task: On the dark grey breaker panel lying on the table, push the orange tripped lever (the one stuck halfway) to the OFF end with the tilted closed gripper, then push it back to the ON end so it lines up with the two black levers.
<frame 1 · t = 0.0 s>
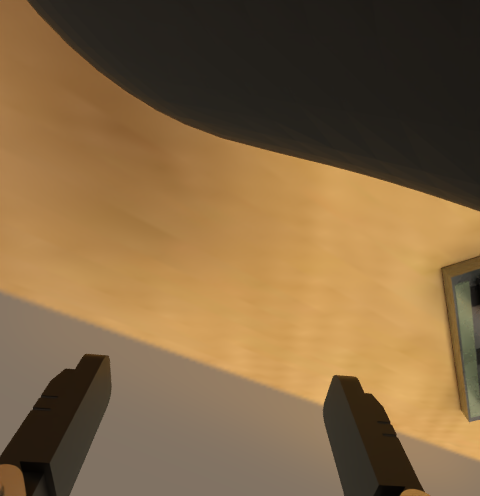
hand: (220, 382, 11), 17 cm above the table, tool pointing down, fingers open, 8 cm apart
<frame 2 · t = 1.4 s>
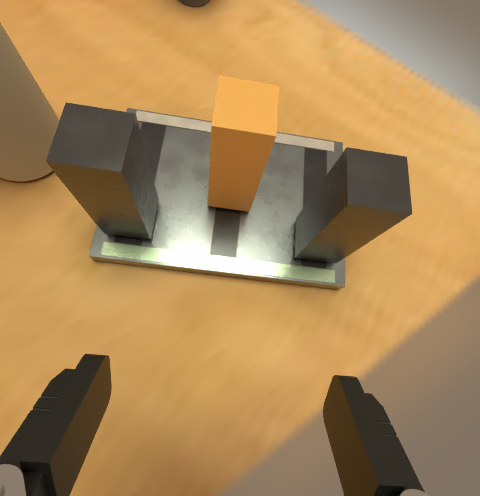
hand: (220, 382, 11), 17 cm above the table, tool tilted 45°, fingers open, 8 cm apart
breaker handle: (237, 156, 25), point 7 cm above the table, slide at 0.0 cm
panel: (229, 199, 32), on the table
travel mug: (28, 149, 31), on the table
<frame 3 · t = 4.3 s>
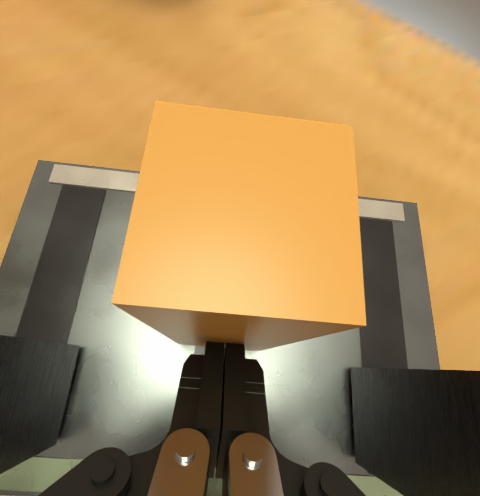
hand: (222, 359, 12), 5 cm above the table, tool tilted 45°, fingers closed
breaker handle: (230, 278, 11), point 7 cm above the table, slide at 0.4 cm, touching gripper
panel: (221, 319, 18), on the table
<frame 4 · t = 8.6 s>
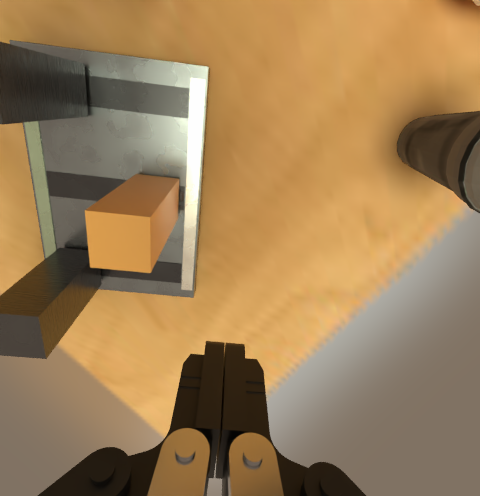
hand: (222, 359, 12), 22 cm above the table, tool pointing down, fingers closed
beverage cup: (419, 141, 30), on the table
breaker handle: (142, 215, 25), point 7 cm above the table, slide at 4.0 cm
panel: (122, 187, 32), on the table
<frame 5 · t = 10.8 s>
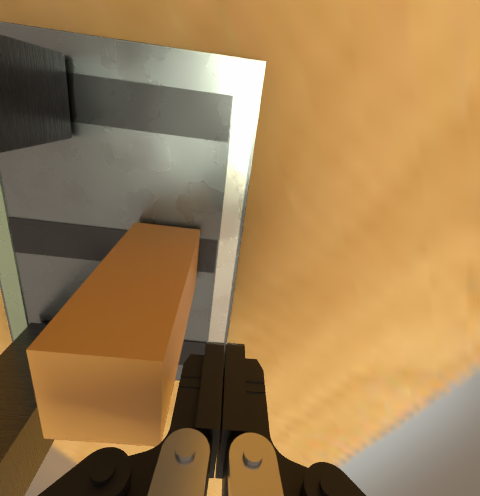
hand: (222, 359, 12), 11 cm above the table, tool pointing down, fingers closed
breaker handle: (144, 304, 15), point 8 cm above the table, slide at 3.4 cm, touching gripper
panel: (123, 237, 22), on the table
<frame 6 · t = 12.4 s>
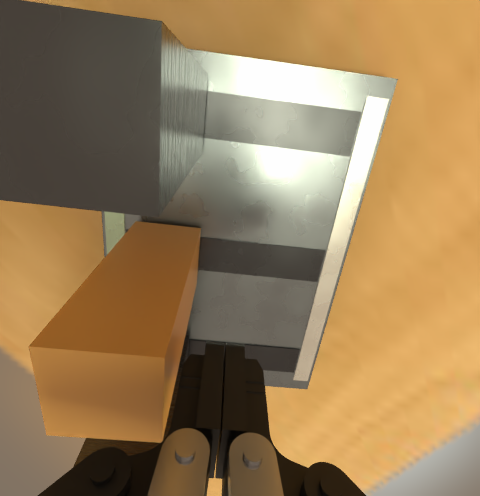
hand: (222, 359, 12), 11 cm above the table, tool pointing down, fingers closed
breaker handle: (145, 302, 15), point 7 cm above the table, slide at -3.8 cm, touching gripper
panel: (226, 246, 22), on the table
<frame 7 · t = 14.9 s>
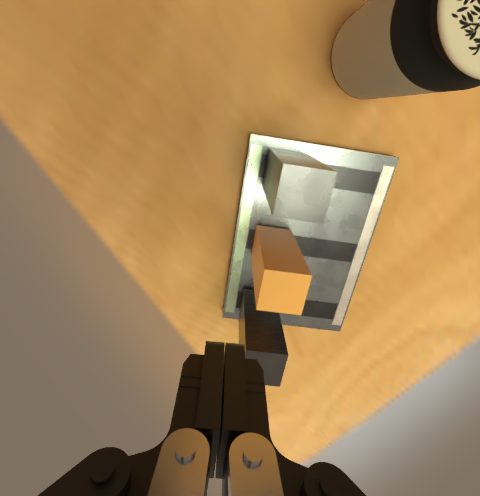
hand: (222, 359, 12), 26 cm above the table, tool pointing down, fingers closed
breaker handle: (276, 264, 32), point 7 cm above the table, slide at -3.8 cm
panel: (299, 241, 39), on the table
travel mug: (370, 55, 31), on the table
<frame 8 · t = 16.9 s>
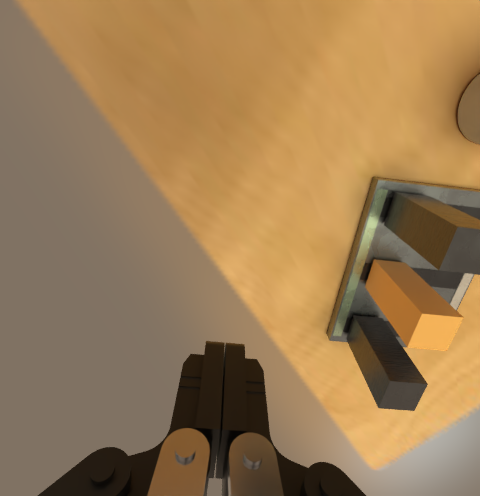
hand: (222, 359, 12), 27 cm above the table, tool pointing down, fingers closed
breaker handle: (406, 299, 35), point 7 cm above the table, slide at -3.8 cm
panel: (405, 270, 42), on the table
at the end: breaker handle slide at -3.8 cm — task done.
